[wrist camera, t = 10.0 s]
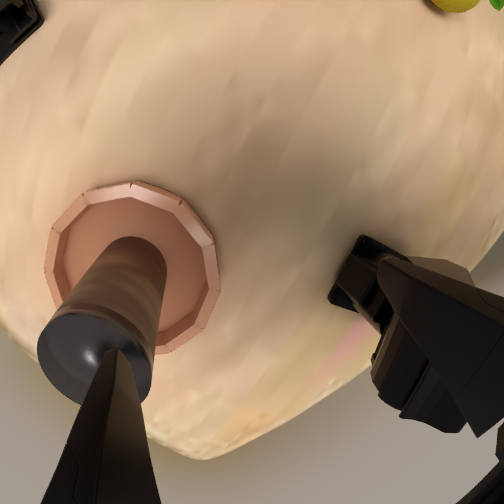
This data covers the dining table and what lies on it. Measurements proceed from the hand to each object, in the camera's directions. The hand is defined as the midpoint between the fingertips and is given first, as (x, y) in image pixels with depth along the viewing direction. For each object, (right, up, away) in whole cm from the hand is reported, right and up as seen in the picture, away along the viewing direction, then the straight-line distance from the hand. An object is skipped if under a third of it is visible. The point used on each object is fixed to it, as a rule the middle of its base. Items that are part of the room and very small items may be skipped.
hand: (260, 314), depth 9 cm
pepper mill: (-9, 0, +11) cm, 14 cm away
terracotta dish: (-9, +1, +12) cm, 15 cm away
